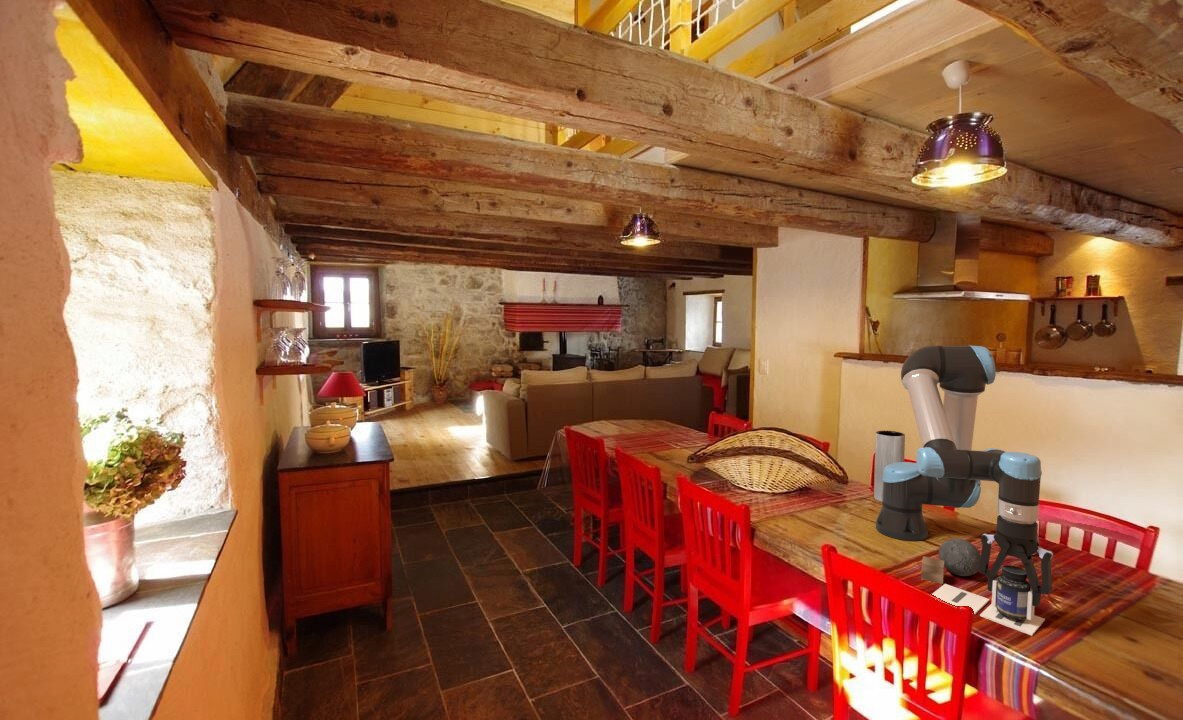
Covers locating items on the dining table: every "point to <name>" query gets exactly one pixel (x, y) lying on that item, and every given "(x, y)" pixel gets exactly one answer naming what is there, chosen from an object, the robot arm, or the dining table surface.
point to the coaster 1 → (960, 597)
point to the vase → (886, 456)
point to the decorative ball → (960, 557)
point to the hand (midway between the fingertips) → (1012, 610)
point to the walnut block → (932, 570)
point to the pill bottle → (1013, 592)
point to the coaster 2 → (1013, 621)
